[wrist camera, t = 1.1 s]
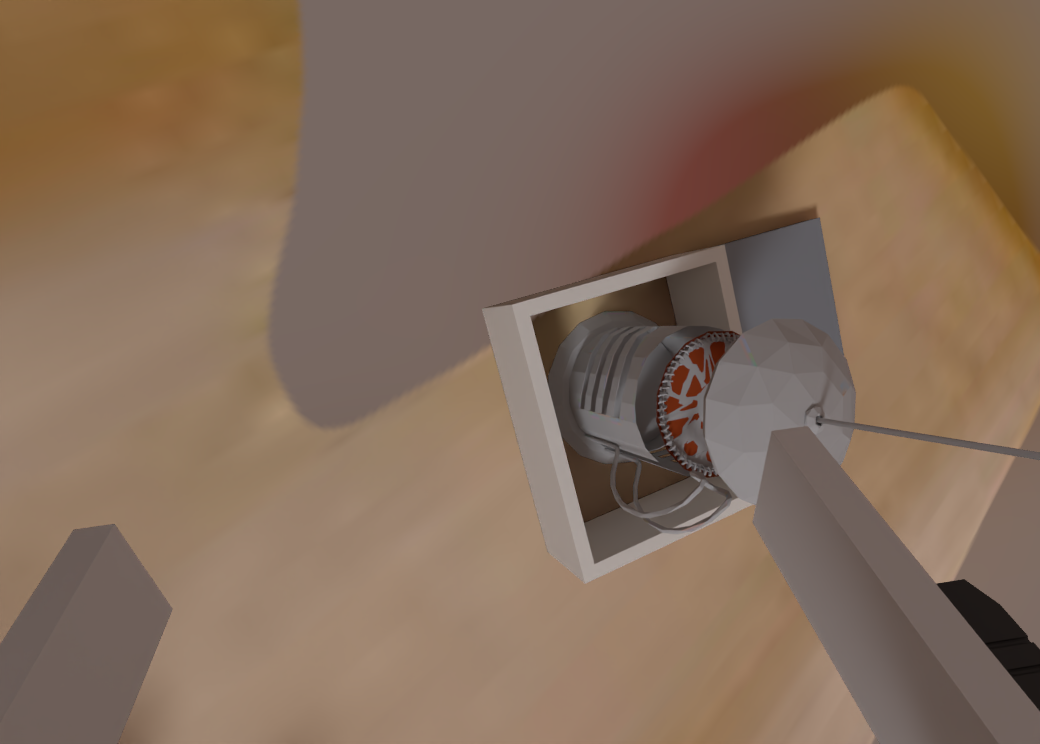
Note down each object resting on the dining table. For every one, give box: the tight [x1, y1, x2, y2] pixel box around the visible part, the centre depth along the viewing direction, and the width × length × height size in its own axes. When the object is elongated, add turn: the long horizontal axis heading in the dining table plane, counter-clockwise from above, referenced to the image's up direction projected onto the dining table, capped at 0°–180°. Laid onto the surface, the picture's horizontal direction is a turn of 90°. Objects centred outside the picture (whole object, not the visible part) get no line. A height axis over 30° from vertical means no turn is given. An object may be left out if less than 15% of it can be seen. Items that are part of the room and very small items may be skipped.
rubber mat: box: [718, 218, 844, 356], centre depth 41 cm, size 13×11×1 cm
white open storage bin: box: [482, 245, 753, 583], centre depth 35 cm, size 15×13×5 cm
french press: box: [548, 311, 1040, 534], centre depth 26 cm, size 10×12×25 cm
